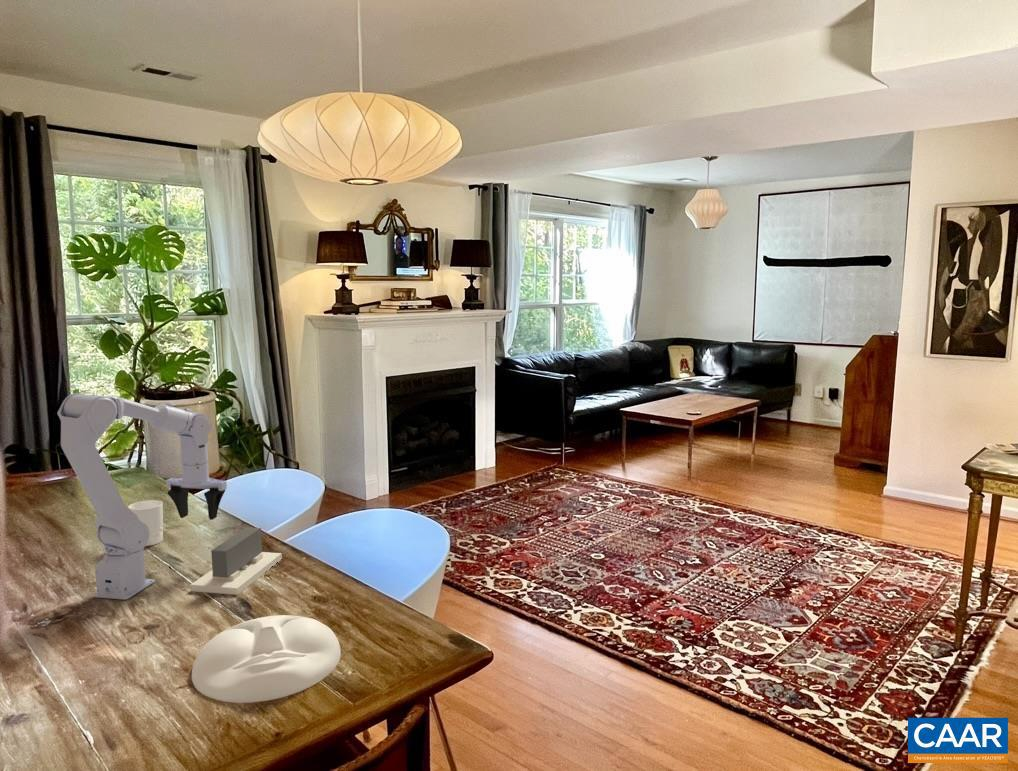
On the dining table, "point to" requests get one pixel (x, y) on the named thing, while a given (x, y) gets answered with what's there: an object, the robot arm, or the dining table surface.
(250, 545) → the matte grey box
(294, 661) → the theatrical mask
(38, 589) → the dining table surface
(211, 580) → the plate
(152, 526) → the white cup
